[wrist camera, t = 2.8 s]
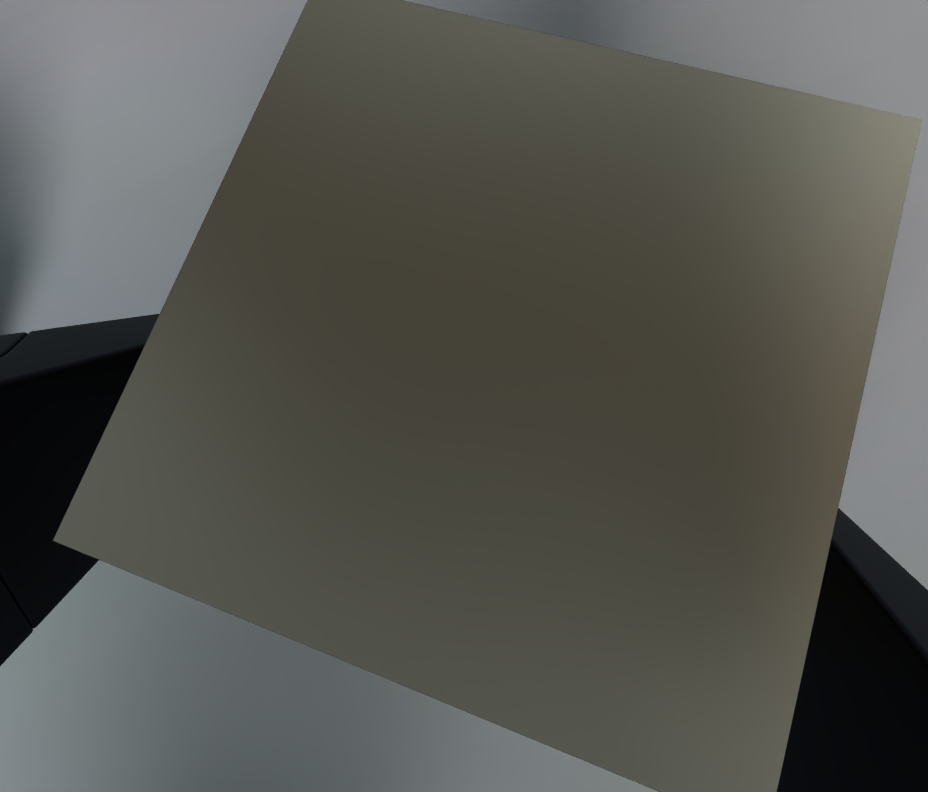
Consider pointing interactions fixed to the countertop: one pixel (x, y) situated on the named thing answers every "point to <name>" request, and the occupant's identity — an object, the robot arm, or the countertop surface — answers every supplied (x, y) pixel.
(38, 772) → the countertop surface
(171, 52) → the countertop surface
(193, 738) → the countertop surface
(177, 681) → the countertop surface
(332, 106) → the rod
